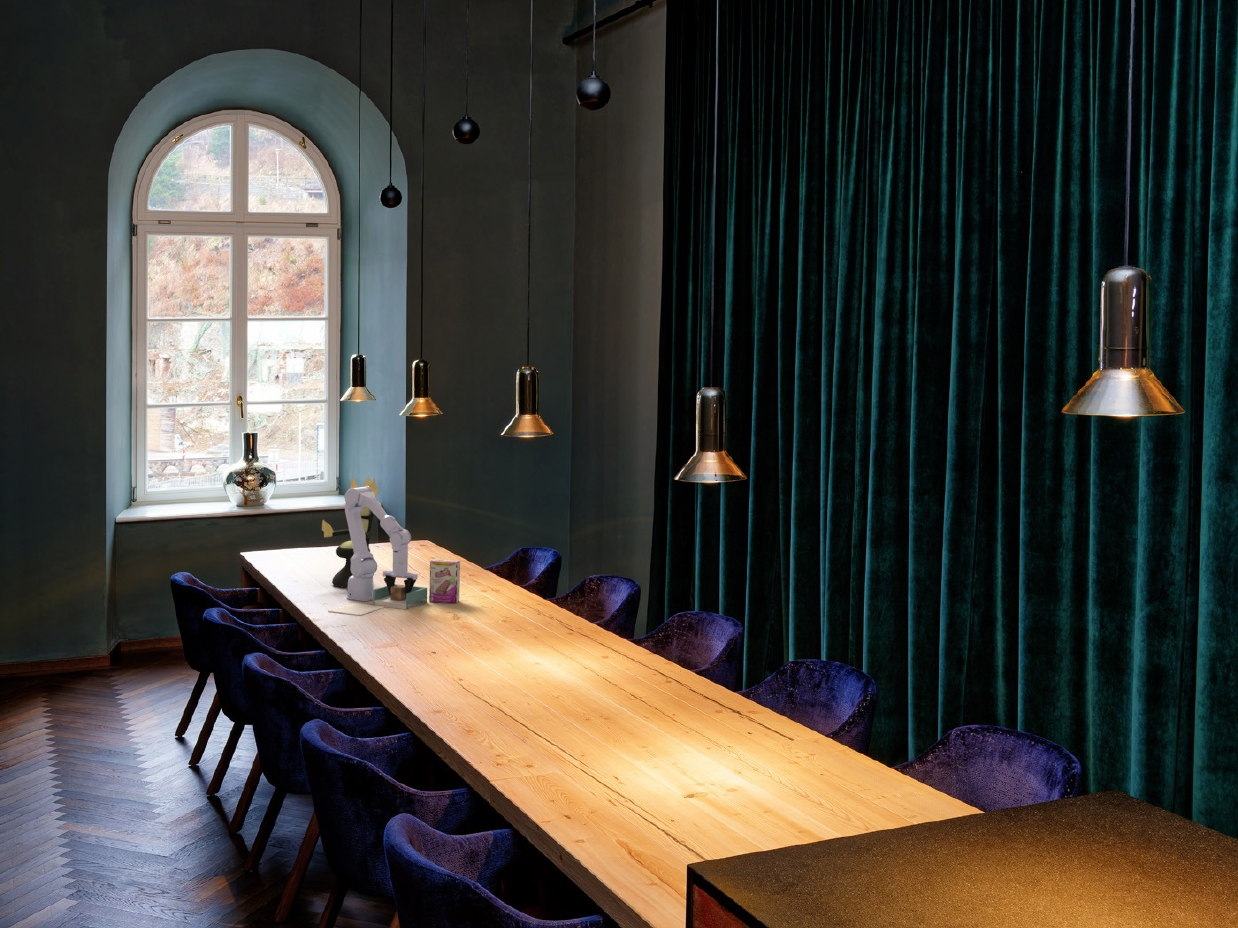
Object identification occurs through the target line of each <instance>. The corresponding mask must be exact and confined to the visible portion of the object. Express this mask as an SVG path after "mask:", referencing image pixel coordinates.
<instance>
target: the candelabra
mask: <svg viewBox="0 0 1238 928" xmlns="http://www.w3.org/2000/svg"><path fill="white" fill-rule="evenodd" d="M365 486H367V487H369V488H371V490H372V491H373V492H374V493H375V498H376V497H377V496H378V494H379V491H378V486H377V483H376V478H375V477H374V478H373V479H372V481H371V479H370V476H369V475H368V476H367V478H366V480H365V483H364V484H363V487H365ZM350 488H359V486H358V484H357V483H356V481H355V479H354V478H353V476H352V477H351V481H350ZM350 488H349V489H350ZM376 499H377V498H376ZM360 515H361V520H362V525H363V529H364V534H365V539H366V543H367V548H368V551H369V552H370V553H371V549H370V538H371V537H373V532H372V527H373V522H374V518H375V516H374V515H375V514H374V513H373V512H372V511H371V510H370V509H369V508H368V507H366V506H364V507H363V508H362V509H361V511H360ZM321 531H322V532H323V538H330V537H339V536H346V535H350V532H349V528H348V529H340V530H339V529H338V530H334V529H333V528H332V526H331V525H330V524H329V523H328V522H326V520H325V519H322V521H321ZM335 554H336V556H337V557H338V558H340V559H345V563H344V564H345V565H344V566H343V567H342V568H341V569H339V570H338V571H337V573H335V575H334V576H333V578H332V580H331V584H333V586H335V587H337V588H341V589H342V588H343V589H348V580H349V578H350V577H351V576H353V574H352V573H351V569H350V568H351V558H352V556H353V555H354V551H353V546H352V541H351V540H348V541H344V542H342V543H341V544H340V545H339V546H337V547H336V549H335Z"/></svg>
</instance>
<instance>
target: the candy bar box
mask: <svg viewBox="0 0 1238 928" xmlns="http://www.w3.org/2000/svg"><path fill="white" fill-rule="evenodd" d="M460 577H461V560H455V559H453V560H452V559H439V558H438V559H436V558H434V559H433V558H432V559H431V560H430V561H429V590H428V591H429V594H428V599H429V600H428V601H429V603H441V604H443V603H444V604H457V603H458V602H460V586H461V585H460V583H461V578H460Z"/></svg>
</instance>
